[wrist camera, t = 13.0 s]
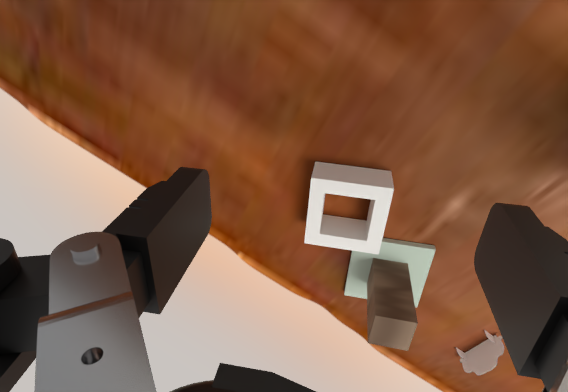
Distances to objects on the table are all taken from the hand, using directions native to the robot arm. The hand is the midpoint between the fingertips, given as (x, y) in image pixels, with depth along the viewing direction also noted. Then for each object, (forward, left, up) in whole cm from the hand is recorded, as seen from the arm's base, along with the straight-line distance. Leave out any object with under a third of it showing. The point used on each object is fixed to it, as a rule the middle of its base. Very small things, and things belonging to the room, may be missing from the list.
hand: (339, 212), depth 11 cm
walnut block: (-7, +24, -27) cm, 37 cm away
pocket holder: (-1, +15, -28) cm, 32 cm away
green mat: (-7, +24, -28) cm, 37 cm away
